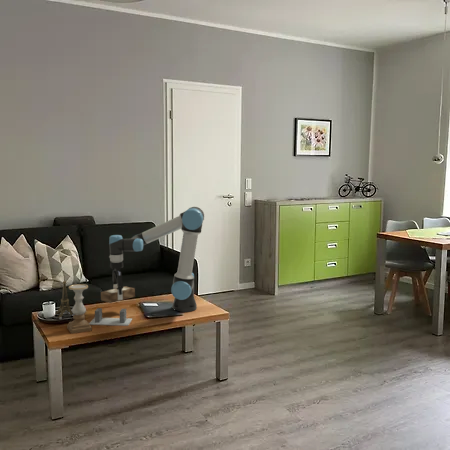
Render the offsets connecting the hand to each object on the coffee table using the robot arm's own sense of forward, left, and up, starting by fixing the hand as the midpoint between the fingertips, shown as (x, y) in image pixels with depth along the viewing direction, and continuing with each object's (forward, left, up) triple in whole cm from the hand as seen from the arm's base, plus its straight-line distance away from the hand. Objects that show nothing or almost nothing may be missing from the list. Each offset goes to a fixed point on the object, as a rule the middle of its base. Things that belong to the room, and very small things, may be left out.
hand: (118, 297), depth 303 cm
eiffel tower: (+30, +7, -10) cm, 32 cm away
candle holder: (+15, +29, -10) cm, 34 cm away
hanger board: (+1, +16, -10) cm, 19 cm away
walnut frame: (0, 0, -1) cm, 1 cm away
